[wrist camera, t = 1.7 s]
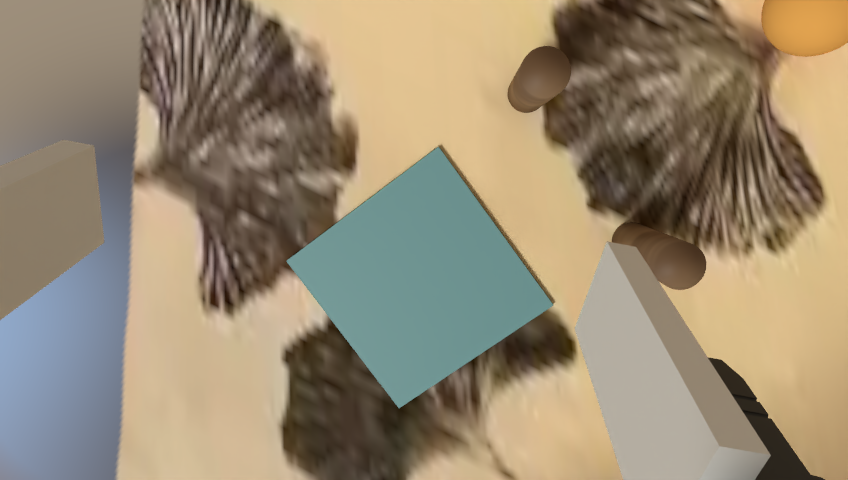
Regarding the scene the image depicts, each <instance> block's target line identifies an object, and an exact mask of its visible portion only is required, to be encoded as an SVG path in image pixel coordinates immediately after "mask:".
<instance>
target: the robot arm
mask: <svg viewBox="0 0 848 480" xmlns="http://www.w3.org/2000/svg"><path fill="white" fill-rule="evenodd" d="M103 243H104V235H103V225H102V216H101V207H100V197H99V188H98V178H97V170H96V160H95V150H94V146H93V145H88V144H83V143H77V142H72V141H66V140H62V141H60V142H57V143H55V144H52V145H50V146H47V147H45V148H42V149H40V150H38V151H35V152H33V153H30V154H28V155H25V156H23V157H21V158H18V159H16V160H13V161H11V162H9V163H6V164H4V165H1V166H0V320H1V319H2V318H4V317H5V316H6V315H8V314H9V313H10V312H12V311H13V310H14V309H16V308H17V307H18V306H20V305H21V304H22V303H24V302H25V301H26V300H28V299H29V298H30V297H32V296H33V295H34V294H36V293H37V292H38V291H40V290H41V289H42V288H44V287H45V286H46V285H48V284H49V283H51V281H53V280H54V279H56V278H57V277H59V276H60V275H61V274H63V273H64V272H65V271H67V270H68V269H69V268H71V267H72V266H73V265H75V264H76V263H77V262H79V261H80V260H81V259H83V258H84V257H85V256H87V255H88V254H89V253H91V252H92V251H93V250H95V249H96V248H97V247H99V246H100V245H102V244H103ZM575 331H576V334H577V337H578V340H579V344H580V347H581V350H582V353H583V356H584V359H585V362H586V365H587V368H588V372H589V375H590V378H591V381H592V384H593V387H594V390H595V393H596V396H597V399H598V403H599V406H600V409H601V412H602V415H603V418H604V421H605V424H606V427H607V430H608V434H609V437H610V440H611V443H612V446H613V449H614V452H615V455H616V458H617V461H618V465H619V468H620V471H621V474H622V477H623V480H825V479H823V478H821V477H817V476H813V475H810V473H809V472H808V471H807V469H806V468H805V466H804V465H803V463H802V462H801V461H800V459H799V458H798V456H797V455H796V453H795V452H794V451H793V449H792V448H791V446H790V445H789V443H788V442H787V441H786V439H785V438H784V436H783V435H782V433H781V432H780V431H779V429H778V428H777V426H776V425H775V423H774V422H773V421H772V419H769V418H768V414H767V412H766V411H765V409H764V408H763V406H762V405H761V404H760V402H757V401H756V399H757V398H756V396H755V395H754V394H753V392H752V391H751V389H750V388H749V386H748V385H747V384H746V382H745V381H744V379H743V378H742V377H741V376H739V375H738V374H737V373H736V372H735V371H734V370H732V369H731V368H730V367H729V366H728V365H727V364H726V363H724V362H723V361H722V360H719V359H713V358H708V357H707V356H706V354H705V353H704V351H703V350H702V348H701V346H700V345H699V343H698V342H697V340H696V339H695V337H694V336H693V334H692V333H691V331H690V329H689V328H688V326H687V325H686V323H685V322H684V320H683V319H682V317H681V316H680V314H679V312H678V311H677V309H676V308H675V306H674V305H673V303H672V302H671V300H670V299H669V297H668V295H667V294H666V292H665V291H664V289H663V288H662V286H661V285H660V283H659V282H658V280H657V278H656V277H655V275H654V274H653V272H652V271H651V269H650V268H649V266H648V264H647V263H646V261H645V260H644V258H643V257H642V255H641V254H640V252H639V251H638V249H637V247H634V246H629V245H623V244H618V243H613V242H606V245H605V248H604V251H603V253H602V256H601V259H600V261H599V264H598V267H597V269H596V272H595V275H594V278H593V280H592V283H591V286H590V288H589V291H588V294H587V296H586V299H585V302H584V305H583V307H582V310H581V313H580V315H579V318H578V321H577V323H576V326H575Z"/></svg>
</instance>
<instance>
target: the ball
mask: <svg viewBox="0 0 848 480" xmlns="http://www.w3.org/2000/svg"><path fill="white" fill-rule="evenodd" d="M762 27H763V30H764V33H765V35H766V37H767V39H768V40H769V41H770V42H771V43H772V44H773V45H774V46H775V47H776V48H777V49H779V50H780V51H782V52H785V53H787V54H790V55H795V56H805V57H807V56H816V55H821V54H825V53H828V52H831V51H833V50H835V49H838V48H840V47H841V46H843V45H845V44H846V43H848V0H765V2H764V5H763V9H762Z"/></svg>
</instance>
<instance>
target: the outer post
mask: <svg viewBox="0 0 848 480" xmlns="http://www.w3.org/2000/svg"><path fill="white" fill-rule="evenodd" d="M570 76H571V66H570V62H569V60H568V58H567V56H566V55H565V54H564V53H563V52H562V51H560V50H559V49H557V48H555V47H551V46H543V47H539V48H536V49H534V50H532V51H531V52H530V53H529V54H528V55H527V56H526V57H525V59H524V60H523V62H522V64H521V66H520V67H519V69H518V71H517V73H516V75H515V76H514V78H513V80H512V82H511V84H510V86H509V88H508V99H509V102H510V104H511V105H512V106H513V107H514V108H515V109H516V110H518V111H520V112H524V113H529V112H533V111H535V110H537V109H538V108H540V107H541V106H542V105H544V104H545V103H546V102H548V101H549V100H551V99H552V98H553V97H555V96H556V95H558V94H559V93H560V92H561V91H563V89H564V88H565V87H566V86H567V84H568V82H569V79H570Z"/></svg>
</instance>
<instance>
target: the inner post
mask: <svg viewBox="0 0 848 480" xmlns="http://www.w3.org/2000/svg"><path fill="white" fill-rule="evenodd" d="M612 242H613V243H618V244H623V245H629V246H634V247H637V249H638V251H639V252H640V254H641V255H642V257H643V258H644V260H645V261H646V263H647V264H648V266H649V268H650V269H651V271H652V272H653V274H654V275H655V277H656V278H657V280H658V281H659V282H661V283H663V284H664V285H666V286H667V287H669V288H672V289H677V290H683V289H688V288H690V287H692V286H694V285H696V284H697V283H698V282H699V281H700V280H701V279H702V277H703V276H704V273H705V270H706V259H705V256H704V254H703V252H702V251H701V250H700V249H699V248H698V247H697V246H695V245H693V244H691V243H688V242H686V241H683V240H680V239H678V238H675V237H672V236H670V235H667V234H665V233H662V232H659V231H657V230H654V229H651V228H649V227H646V226H644V225H641V224H638V223H634V222H629V223H625V224H623V225H621V226H620V227H618V228H617V229H616V231H615V232H614V234H613V237H612Z"/></svg>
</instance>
